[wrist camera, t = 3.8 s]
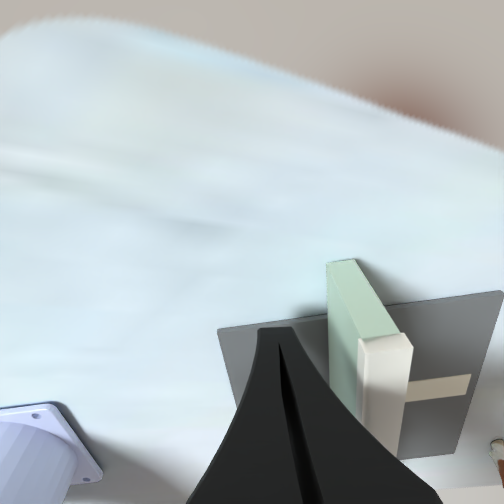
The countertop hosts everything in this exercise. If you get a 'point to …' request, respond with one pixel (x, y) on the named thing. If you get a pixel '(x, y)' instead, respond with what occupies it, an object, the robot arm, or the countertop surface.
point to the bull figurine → (498, 456)
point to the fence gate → (366, 354)
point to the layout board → (422, 364)
